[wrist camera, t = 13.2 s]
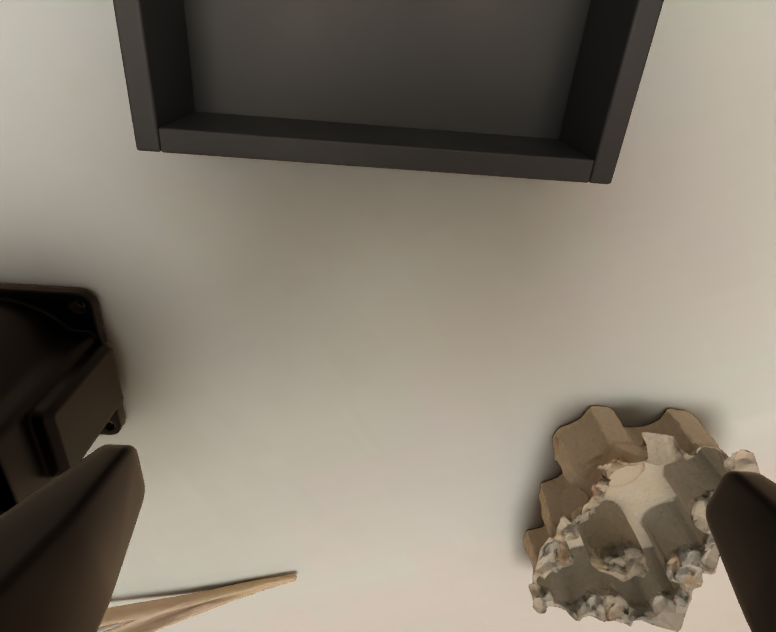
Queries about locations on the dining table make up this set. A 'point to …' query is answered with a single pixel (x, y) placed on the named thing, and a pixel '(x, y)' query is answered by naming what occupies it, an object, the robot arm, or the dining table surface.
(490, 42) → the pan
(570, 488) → the egg carton
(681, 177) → the dining table surface
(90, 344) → the robot arm
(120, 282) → the dining table surface
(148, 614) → the animal skull
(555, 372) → the dining table surface
